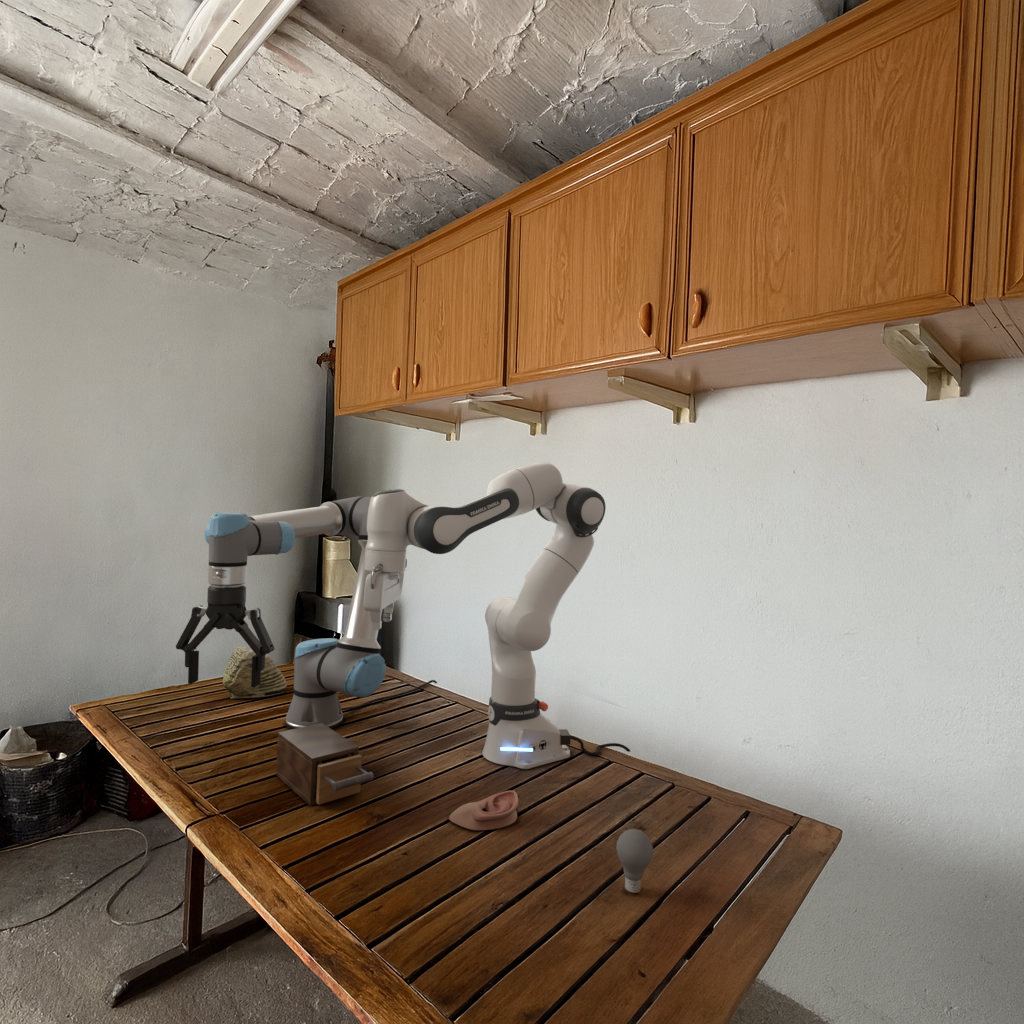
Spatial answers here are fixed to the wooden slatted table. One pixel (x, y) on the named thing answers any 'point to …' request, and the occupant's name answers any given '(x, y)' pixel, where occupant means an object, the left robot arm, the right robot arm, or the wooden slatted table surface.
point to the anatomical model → (487, 812)
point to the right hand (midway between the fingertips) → (381, 625)
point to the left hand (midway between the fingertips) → (224, 684)
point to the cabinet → (308, 756)
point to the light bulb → (634, 857)
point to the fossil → (241, 674)
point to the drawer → (339, 777)
